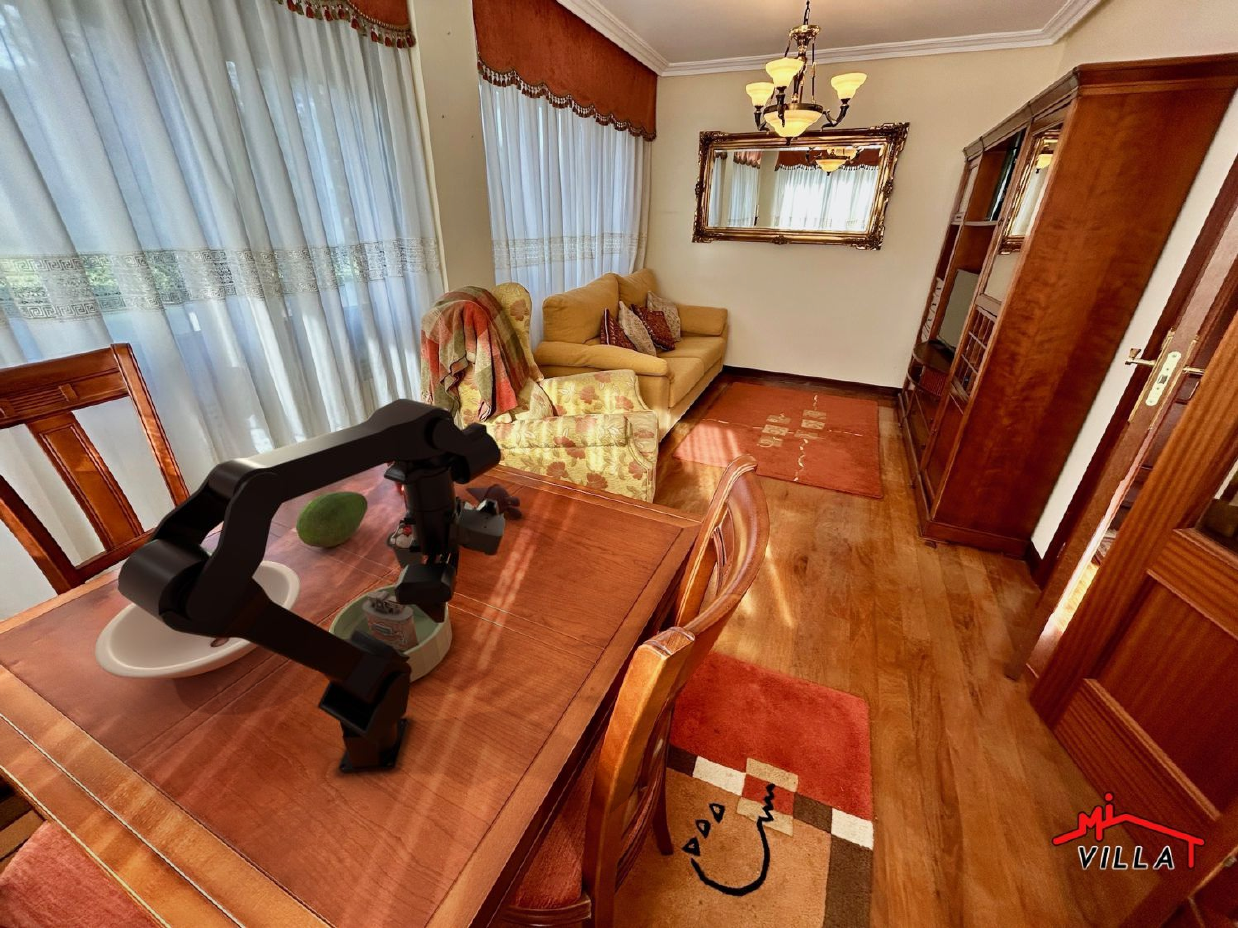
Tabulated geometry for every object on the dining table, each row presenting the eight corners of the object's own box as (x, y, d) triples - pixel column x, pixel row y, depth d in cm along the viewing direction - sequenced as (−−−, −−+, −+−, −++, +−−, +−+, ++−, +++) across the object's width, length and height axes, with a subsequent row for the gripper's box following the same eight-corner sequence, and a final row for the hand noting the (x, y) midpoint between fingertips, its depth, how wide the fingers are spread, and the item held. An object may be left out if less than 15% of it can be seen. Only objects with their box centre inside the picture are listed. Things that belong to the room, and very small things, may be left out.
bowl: (439, 689, 71) (434, 659, 68) (318, 697, 69) (308, 666, 66) (460, 608, 85) (456, 581, 82) (361, 613, 83) (353, 585, 81)
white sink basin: (341, 624, 81) (332, 593, 78) (160, 744, 62) (139, 708, 59) (261, 573, 91) (250, 543, 89) (86, 662, 73) (65, 628, 70)
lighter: (366, 646, 76) (352, 596, 72) (382, 631, 79) (370, 581, 75) (410, 661, 74) (399, 609, 70) (425, 644, 77) (415, 594, 72)
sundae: (423, 599, 87) (409, 527, 80) (388, 593, 88) (372, 521, 81) (442, 575, 92) (431, 506, 86) (409, 570, 94) (396, 501, 87)
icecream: (452, 487, 109) (508, 510, 104) (473, 467, 114) (528, 487, 109) (459, 509, 114) (513, 532, 109) (479, 489, 118) (532, 509, 113)
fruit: (348, 513, 110) (338, 473, 106) (386, 521, 108) (378, 481, 103) (289, 552, 97) (275, 508, 93) (331, 563, 95) (319, 518, 90)
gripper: (489, 541, 54) (500, 646, 61) (504, 464, 71) (512, 553, 78) (381, 545, 53) (405, 652, 60) (423, 466, 70) (438, 556, 77)
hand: (447, 597), depth 69 cm, fingers open, 9 cm apart
